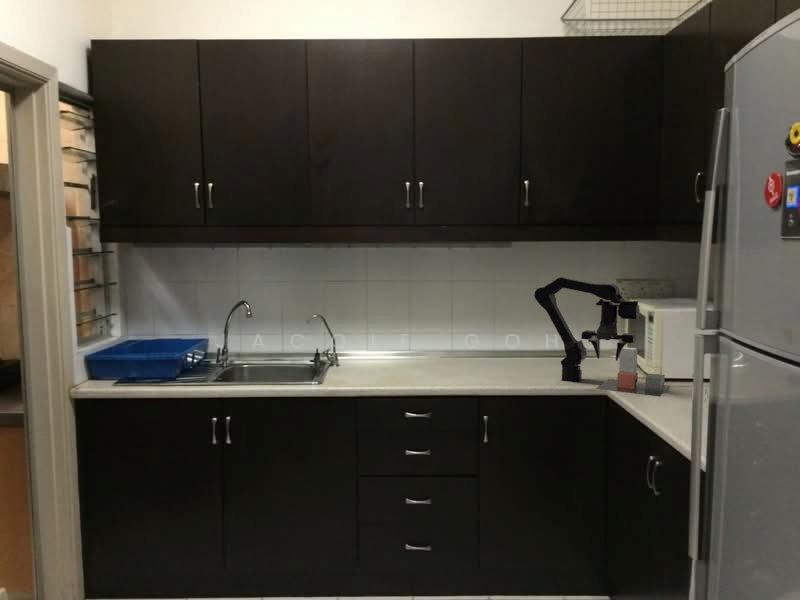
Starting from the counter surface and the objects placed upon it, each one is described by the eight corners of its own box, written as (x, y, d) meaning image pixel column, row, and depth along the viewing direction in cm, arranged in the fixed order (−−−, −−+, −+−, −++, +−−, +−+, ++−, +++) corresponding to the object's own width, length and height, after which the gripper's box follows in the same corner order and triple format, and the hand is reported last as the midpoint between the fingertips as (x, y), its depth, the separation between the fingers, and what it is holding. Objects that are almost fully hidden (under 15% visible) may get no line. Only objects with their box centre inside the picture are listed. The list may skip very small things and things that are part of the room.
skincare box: (636, 378, 253) (637, 348, 252) (634, 379, 250) (635, 349, 249) (621, 376, 257) (622, 346, 256) (618, 378, 253) (619, 348, 252)
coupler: (595, 390, 231) (595, 375, 231) (609, 380, 248) (609, 366, 248) (659, 398, 220) (660, 382, 219) (669, 387, 237) (670, 372, 236)
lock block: (617, 386, 235) (617, 373, 234) (620, 384, 239) (620, 371, 238) (634, 388, 231) (634, 375, 231) (637, 386, 236) (637, 372, 235)
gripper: (577, 318, 235) (576, 360, 236) (630, 321, 225) (628, 365, 227) (586, 315, 244) (584, 355, 246) (637, 318, 235) (635, 360, 236)
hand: (607, 359), depth 238 cm, fingers open, 6 cm apart
